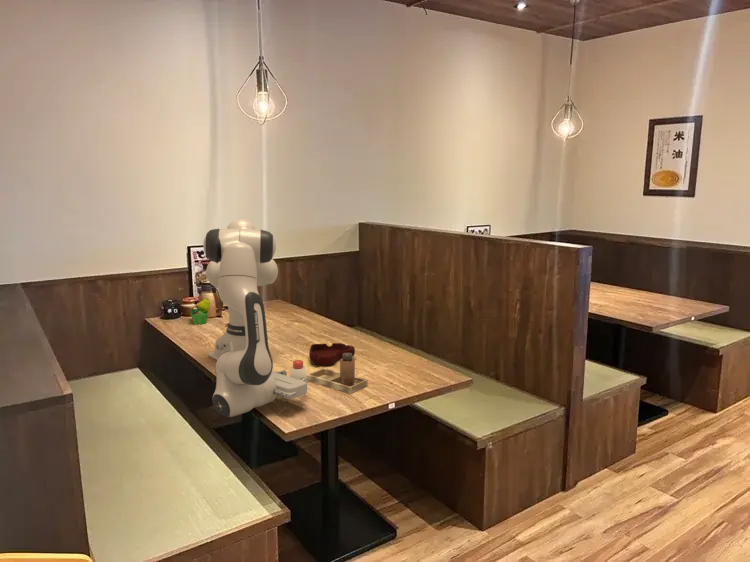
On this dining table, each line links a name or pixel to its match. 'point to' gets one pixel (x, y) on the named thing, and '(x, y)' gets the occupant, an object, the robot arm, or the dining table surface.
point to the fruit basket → (200, 312)
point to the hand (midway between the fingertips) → (295, 376)
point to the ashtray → (329, 353)
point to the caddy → (335, 380)
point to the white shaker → (298, 370)
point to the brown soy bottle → (347, 370)
